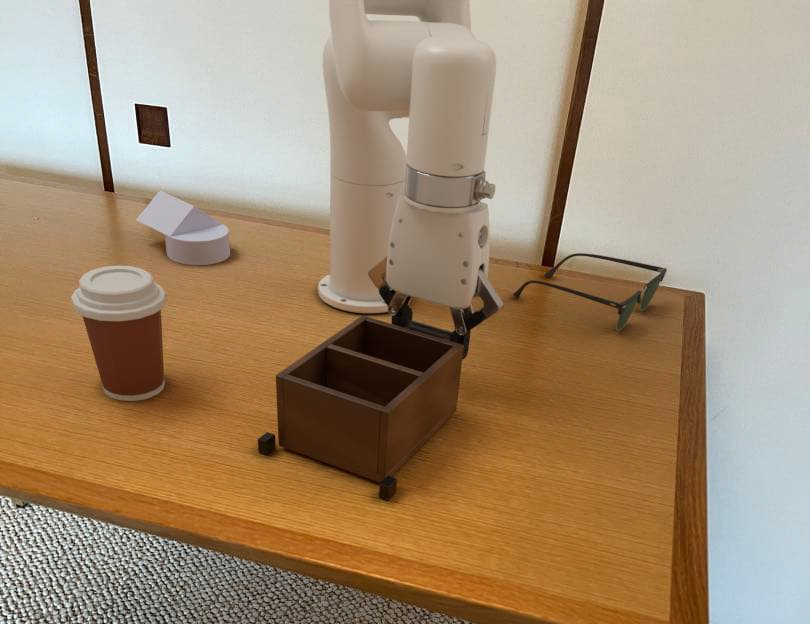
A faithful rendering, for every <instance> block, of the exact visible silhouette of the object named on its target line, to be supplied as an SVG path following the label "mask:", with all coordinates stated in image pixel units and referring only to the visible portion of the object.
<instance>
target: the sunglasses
mask: <svg viewBox="0 0 810 624" xmlns="http://www.w3.org/2000/svg"><path fill="white" fill-rule="evenodd" d="M574 257H588V258H593V259H599V260H605V261H610V262H614V263H619V264H623V265H627V266H632V267H636V268H640V269H644V270H647V271H652V272H657V273H658V275H656V276H655V277H653V278H652V279H651V280H649V281H648V282H647V283H646V284H645V285H644V287H643V289H641V290H640V289H639V290H637V291H636V292H635V293H634V294H633V295H631V296H630V297H629V298H627V299H626V300H624V301H622V302H616V301H612V300H609V299H606V298H602V297H600V296H595V295H592V294H589V293H585V292H582V291H580V290H575V289H572V288H568V287H566V286H561V285H558V284H554V283H550V282H546V281H541V280H535V279H531V280H528V281H526V282H524V283H523V284H522V285H521V286H520V287H519V288H518V289H517V290H515V292H514V293H513V295H512V296H513V297H514V298H516V299H520V297H521V295H522V293H523V291H524V289H525V288H526V287H527V286H528V285H530V284H537V285H543V286H547V287H550V288H553V289H556V290H560V291H563V292H566V293H568V294H569V293H570V294H572V295H576V296H578V297H582V298H584V299H588V300H589V301H590V300H591V301H593V302H597V303H599V304H602V305H605V306H608V307H610V308H615V309H617V314H618V317H617V320H616V323H615V330H616V331H621V330H622V329H623V328H625V326H626V324H627V322H628V320H629V318H631V317H630V316H631V315H632V312H633V311H634V309H635V307H636V304H638V310H639V311H641V312H642V311H645V309H647V307H648V306H649V305H650V303H651V301H652V299H653V298H654V295H655V294H656V292H657V290H658V288H659V285H660V283H662V282H663V280H664V278H665V275H666V273H667V271H668V269H667V268H666V267H661V266H657V265H652V264H647V263H641V262H637V261H632V260H628V259H622V258H617V257H612V256H606V255H601V254H593V253H583V252H582V253H581V252H580V253H579V252H578V253H572V254H569V255H567V256H565V257H564V258H563V259H562V260H560V261H559V262H558V263H556V265H554V266H553V267H552V268H551V269H549V270H548V271H546V273H545V274H544V277H545V278H546V279H551V278H552V277H553V276H554V275H555V273H556V272H557V270H558V269H559V268H560V266H562V265H563V264H564V263H565V262H566V261H568V260H569V259H571V258H574Z"/></svg>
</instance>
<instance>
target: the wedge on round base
mask: <svg viewBox="0 0 810 624" xmlns="http://www.w3.org/2000/svg"><path fill="white" fill-rule="evenodd" d="M135 221H137V222H139V223H141V224H143V225H145V226H147V227H149V228H151V229H153V230H155V231H157V232H159V233H161V234H163V235H164V242H165V249H166V256H167V258H168V259H169V260H171V261H173V262H175V263H178V264H181V265H188V266H208V265H214V264H218V263H221V262H224V261H226V260H227V259H229V258H230V256H231V244H230V231H229V230H230V229H229V227H228V226H226V225H225V224H223V223H221V222H220V221H219V220H217V219H215V218H214V217H212V216H211V215H209V214H208V213H206V212H204V211H203V210H201V209H199V208H198V207H196V206H195V205H193V204H191V203H188V202H186V201H184V200H182V199H180V198H177V197H175V196H173V195H170V194H169V193H167V192H164V191H162V190H159V191H158V192H157V193H156V195H155V196H154V197H153V198H152V200H150V202H149V203H148V205H147V206H146V207H145V208H144V209H143V210H142V212H141V213H140V214H139V215H138V217H137V218H136V219H135Z"/></svg>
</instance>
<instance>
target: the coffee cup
mask: <svg viewBox="0 0 810 624" xmlns="http://www.w3.org/2000/svg"><path fill="white" fill-rule="evenodd" d="M78 284H79V287H77V288H76V289H75V290H74V292H73V294H72V295H71V297H70V300H71V304H72V307H73V310H74V311H75V312H76V313H77V314H79V315H81V316H82V320H83V323H84V326H85V329H86V333H87V337H88V340H89V343H90V347H91V350H92V353H93V357H94V361H95V364H96V368H97V371H98V374H99V378H100V382H101V386H102V389H103V392H104V394H105V395H107V396H108V397H110V398H111V399H114V400H118V401H122V402H123V401H125V402H136V401H137V402H138V401H143V400H147V399H150V398H152V397H156V396H157V395H159V394H160V393H161V392H162V391H163V390H164V387H165V386H166V381H165V367H164V366H165V365H164V345H163V323H162V309H164V308H165V305H166V303H167V293H166V292H165V290H164V289H163V287H162V286H161V285H159V284H158V283H156V281H154V277H153V276H152V274H151V273H150V272H149V271H147V270H145V269H143V268H141V267H136V266H131V265H109V266H102V267H98V268H95V269H91V270H89V271H87V272H85V273H84V274H83V275H82V276H81V277H80V279H79V281H78Z"/></svg>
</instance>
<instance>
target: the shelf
mask: <svg viewBox="0 0 810 624" xmlns="http://www.w3.org/2000/svg"><path fill="white" fill-rule="evenodd" d="M452 332H453V331H451V330H448V329H444V328H441V327H437V326H433V325H430V324H428V323H427V324H426V323H424V322H419V321H416V320H413V319H412V320H410V319H407V320H406V321H405V323H404V326H403V327H400V326H397V325H393V324H392V323H391V322H390V323H389V322H386V321H382V320H379V319H376V318H373V317H369V316H366V315H363V314H362V315H361V316H359V317H358V318H356V319H355V320H354V321H352V322H351V323H349V324H348V325H346V326H345V327H344V328H342V329H341V330H339V331H337V332H336V333H334V334H333V335H331V336H330V337H329V338H328V339H326V340H325V341H323V342H321V343H320V344H319V345H317V346H316V347H314V348H313V349H311V350H310V351H308V352H307V353H306V354H304V355H303V356H301V357H300V358H299V359H297V360H295V361H294V362H292V363H291V364H290V365H289V366H287V367H285V368H284V369H282V370H281V371H280V372H278V373H276V374H275V390H276V391H275V392H276V413H277V414H276V415H277V435H278V437H277V438H278V446H279V447H282V448H284V449H287V450H290V451H292V452H296V453H298V454H301V455H304V456H307V457H309V458H312V459H314V460H317V461H320V462H322V463H325V464H327V465H331V466H334V467H336V468H339V469H342V470H345V471H347V472H350V473H353V474H355V475H358V476H360V477H363V478H365V479H366V478H367V479H369V480H371V481H374V482H376V483H379V484H380V483H381V482H382V481H383V480H384V479H385V478H386V477H387V476H390V477H393V476H394V475H395V474H396V473H397V472H398V471H399V470H400V469H401V468H402V467H403V466H404V465H405V464H406V463H407V462H408V461H409V460H410V459H411V458H412V457H413V456H414V455H415V454H416V453H417V452H418V451H419V449H421V448H422V447H423V446H424V445H425V444H426V443H427V442H428V441H429V440H430V438H432V436H434V434H435V433H436V432H437V431H439V429H440V428H442V426H443V425H444V424H446V422H447V421H448V420H450V418H451V417H452V416H453V415H454V414H455V413H456V412H457V408H458V400H459V392H460V391H459V390H460V381H461V373H462V365H463V360H462V358H463V349H464V345H462V344H459V343H455V342H452V341H449V339H450V334H451V333H452Z"/></svg>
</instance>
